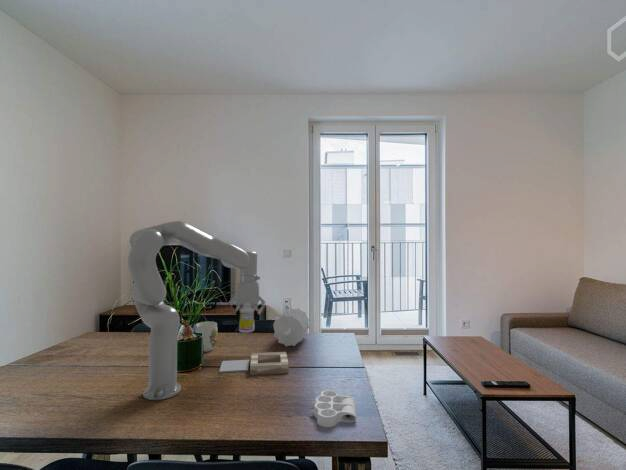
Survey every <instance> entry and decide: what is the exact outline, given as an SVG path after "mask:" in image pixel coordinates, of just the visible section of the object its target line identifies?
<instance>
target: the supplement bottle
mask: <svg viewBox="0 0 626 470" xmlns="http://www.w3.org/2000/svg"><path fill="white" fill-rule="evenodd" d="M239 310H240V314H239V320H238V321H239V323H238V332H240V333H252V332H254V331H255V320H254V311H255V308H254V306H253V305H250V303H244V305H241V307H239Z"/></svg>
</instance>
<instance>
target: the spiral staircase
mask: <svg viewBox="0 0 626 470" xmlns="http://www.w3.org/2000/svg"><path fill="white" fill-rule="evenodd" d="M309 324H310V318H309V317H308V315H307V312H305V311H303V310H302V309H300V308H293V307H290V308H289V309H287V310H286V311H285V310H283V312H282V313H279V317H276V318H275V320H274V322H273V324H272V326H273V331H274V333H273V336H274V337H275V338H276V339H277V340H278V341H277V343H279V344H282V345H284V346H285V347H289V346H290V347H291V346H293V347H295V346H296V345H297V344H299V343H302V341H303V339H304V337H306V334H307V332H308V330H309V328H310V325H309Z"/></svg>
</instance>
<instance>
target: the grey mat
mask: <svg viewBox="0 0 626 470" xmlns="http://www.w3.org/2000/svg"><path fill="white" fill-rule="evenodd" d="M219 367H220V368H219V370H218V373H235V372H236V373H237V372H249V369H250V359H239V360H238V359H237V360H235V359H233V360H222V362H221V364H220V366H219Z"/></svg>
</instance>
